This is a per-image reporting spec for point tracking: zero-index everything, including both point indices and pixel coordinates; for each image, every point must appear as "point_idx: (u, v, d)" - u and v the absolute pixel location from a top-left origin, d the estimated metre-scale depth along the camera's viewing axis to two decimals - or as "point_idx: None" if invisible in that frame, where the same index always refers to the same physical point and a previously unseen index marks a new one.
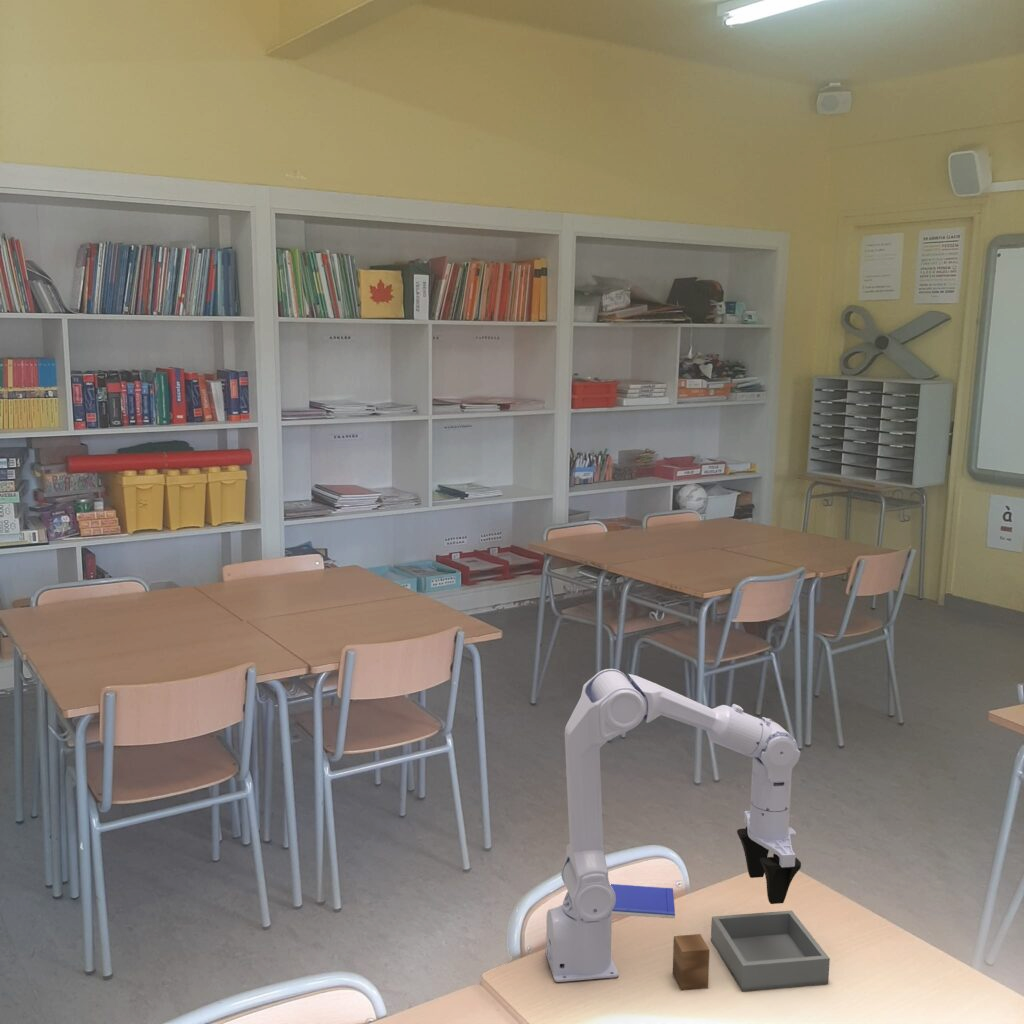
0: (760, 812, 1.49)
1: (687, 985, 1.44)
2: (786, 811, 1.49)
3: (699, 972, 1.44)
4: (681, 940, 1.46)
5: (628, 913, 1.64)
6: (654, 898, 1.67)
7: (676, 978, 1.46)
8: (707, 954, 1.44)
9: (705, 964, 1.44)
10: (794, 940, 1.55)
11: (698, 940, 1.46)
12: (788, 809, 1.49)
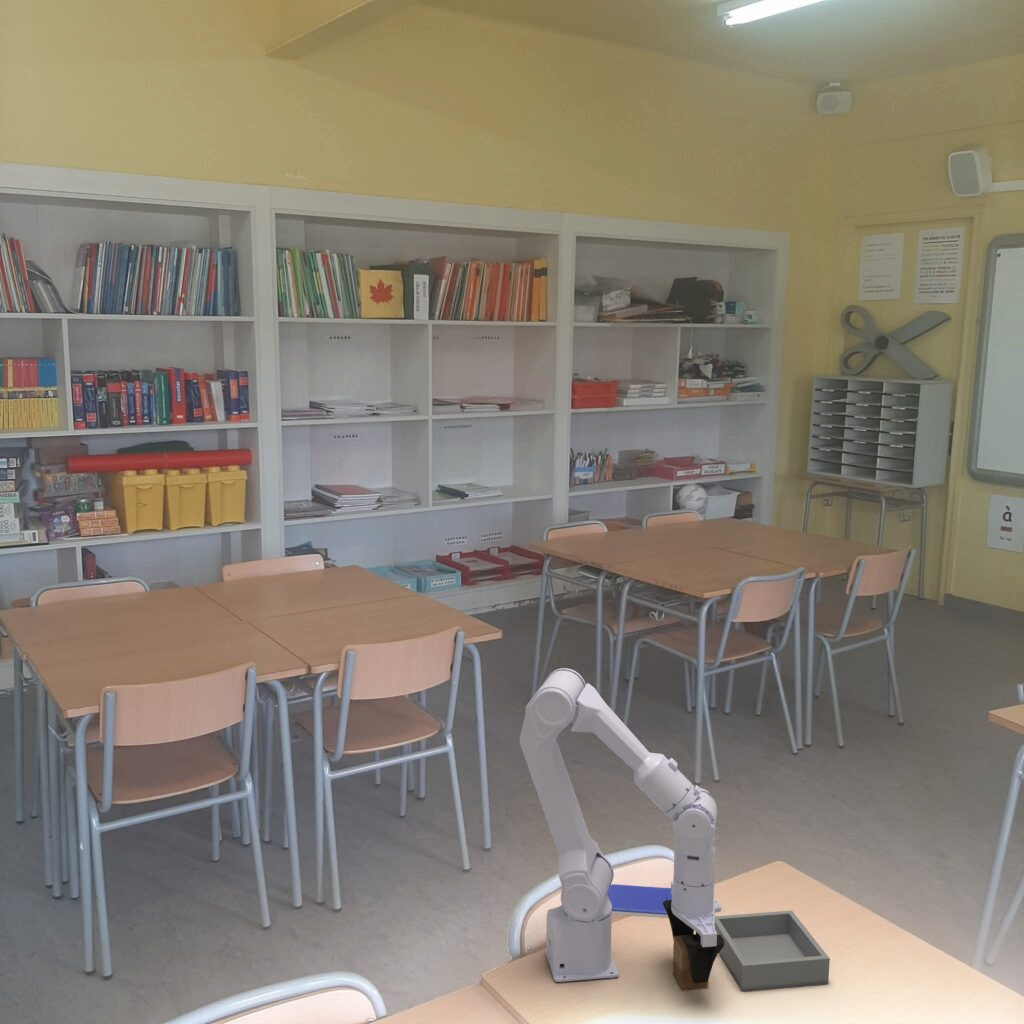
0: (682, 887, 1.42)
1: (687, 985, 1.44)
2: (709, 886, 1.42)
3: None
4: (681, 940, 1.46)
5: (628, 913, 1.64)
6: (654, 898, 1.67)
7: (676, 978, 1.46)
8: None
9: None
10: (794, 940, 1.55)
11: None
12: (712, 883, 1.43)
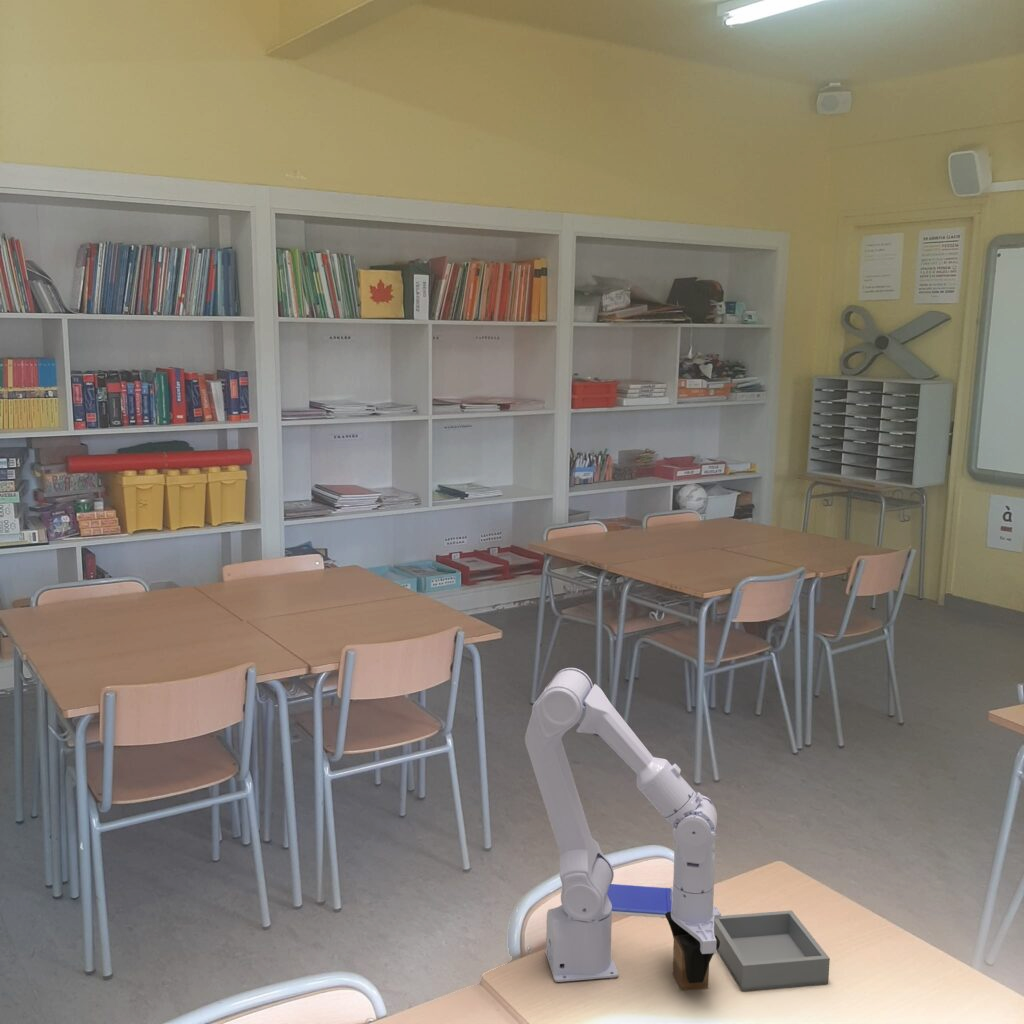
0: (682, 894, 1.42)
1: (687, 985, 1.44)
2: (709, 892, 1.42)
3: None
4: None
5: (628, 913, 1.64)
6: (654, 898, 1.67)
7: (676, 978, 1.46)
8: None
9: None
10: (794, 940, 1.55)
11: None
12: (711, 890, 1.43)
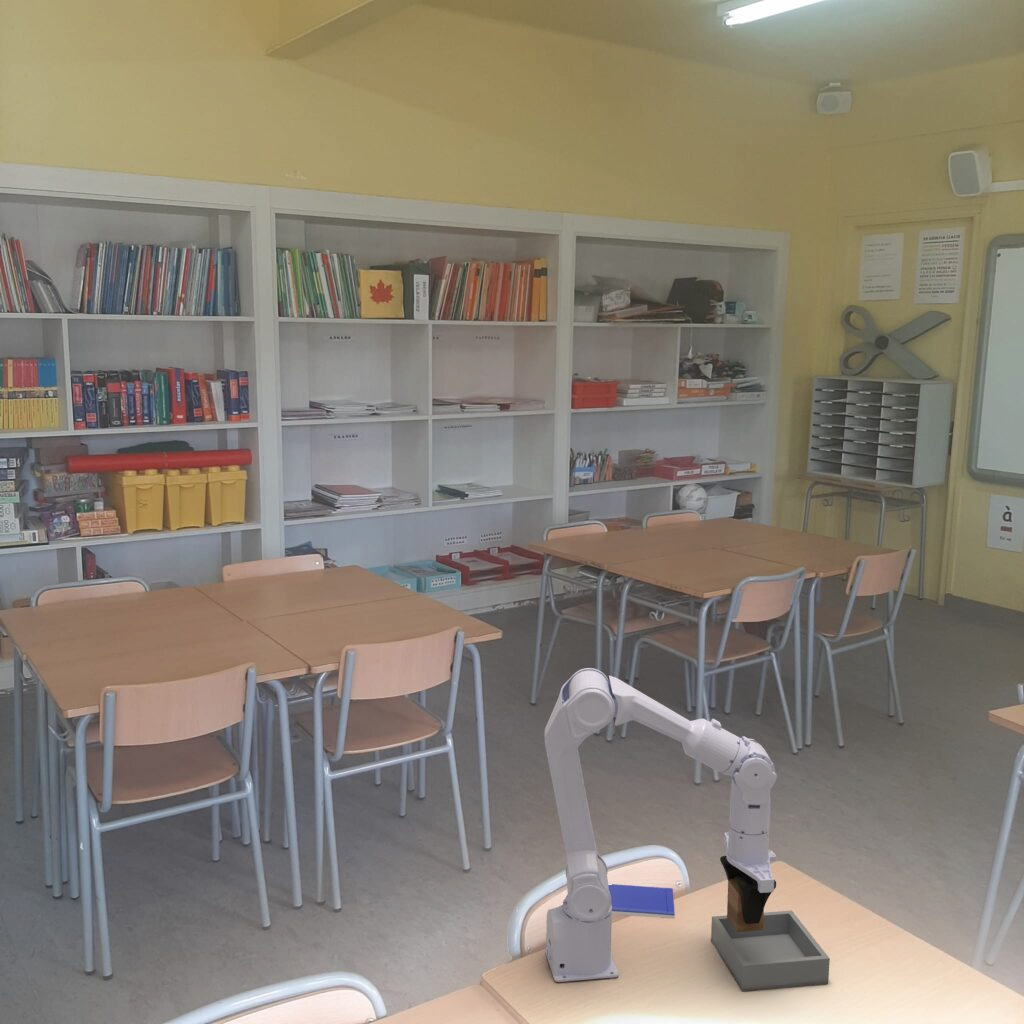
0: (738, 835, 1.45)
1: (743, 927, 1.47)
2: (765, 834, 1.45)
3: None
4: None
5: (628, 913, 1.64)
6: (654, 898, 1.67)
7: (731, 920, 1.49)
8: None
9: None
10: (794, 940, 1.55)
11: None
12: (767, 832, 1.45)
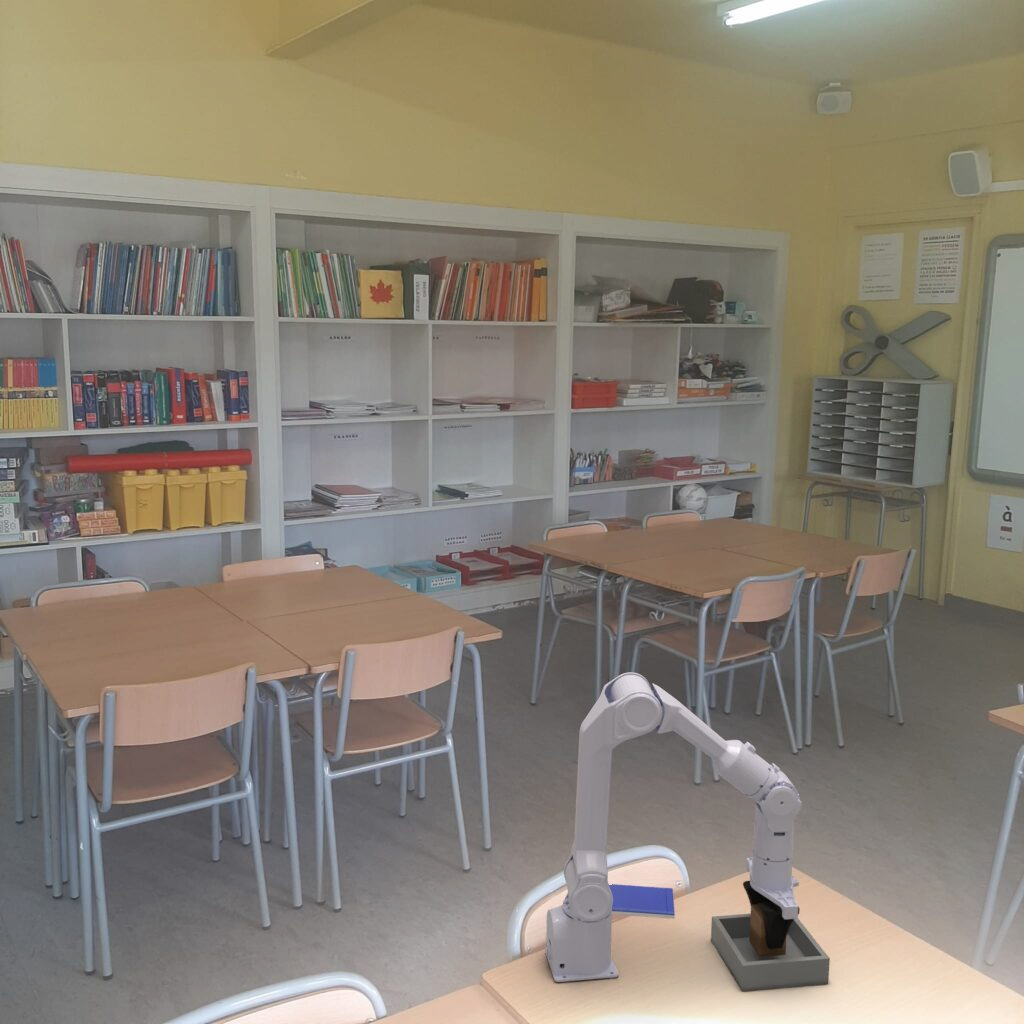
0: (762, 862, 1.47)
1: (766, 951, 1.49)
2: (789, 861, 1.47)
3: None
4: (759, 909, 1.51)
5: (628, 913, 1.64)
6: (654, 898, 1.67)
7: (754, 945, 1.51)
8: None
9: None
10: (794, 940, 1.55)
11: None
12: (791, 859, 1.47)
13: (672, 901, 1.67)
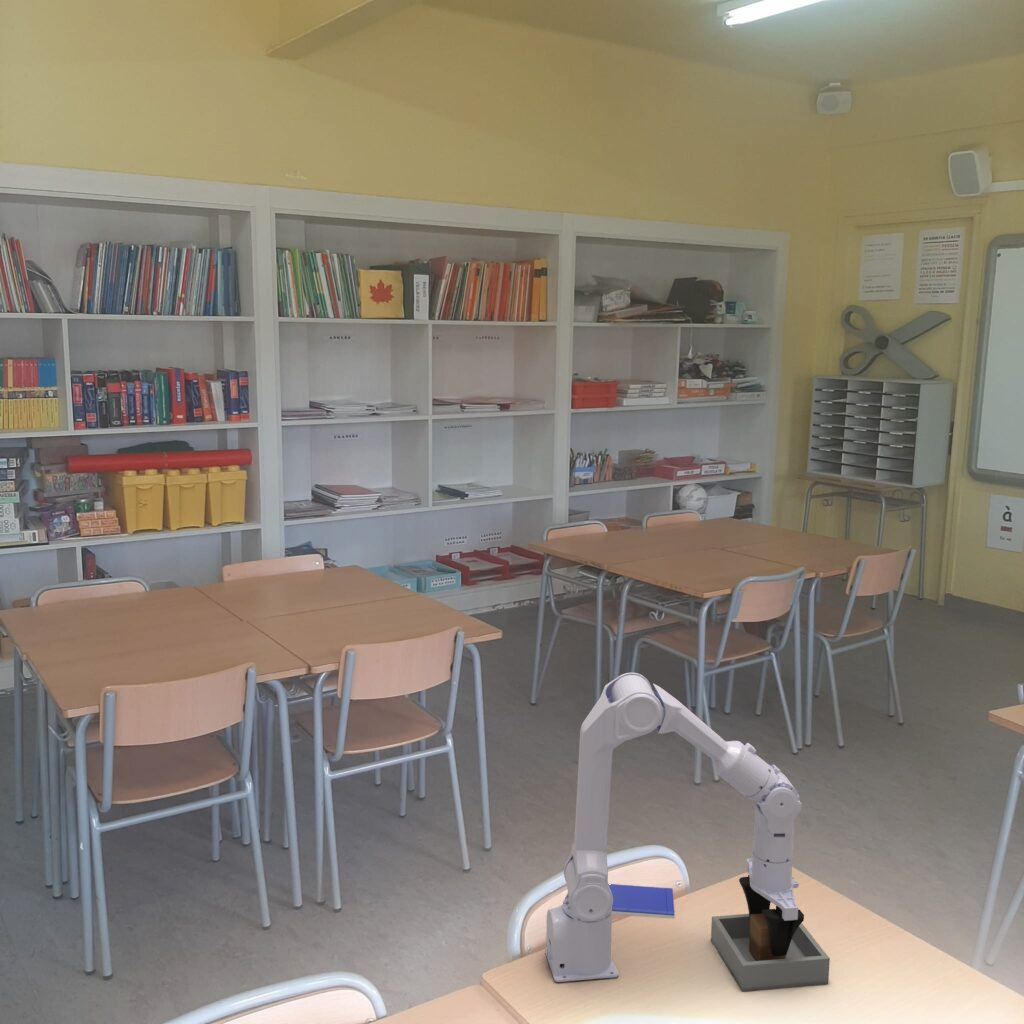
0: (762, 863, 1.47)
1: None
2: (789, 862, 1.47)
3: None
4: (759, 918, 1.51)
5: (627, 913, 1.64)
6: (654, 898, 1.67)
7: (753, 955, 1.51)
8: None
9: None
10: (794, 940, 1.55)
11: None
12: (791, 860, 1.47)
13: (672, 901, 1.67)
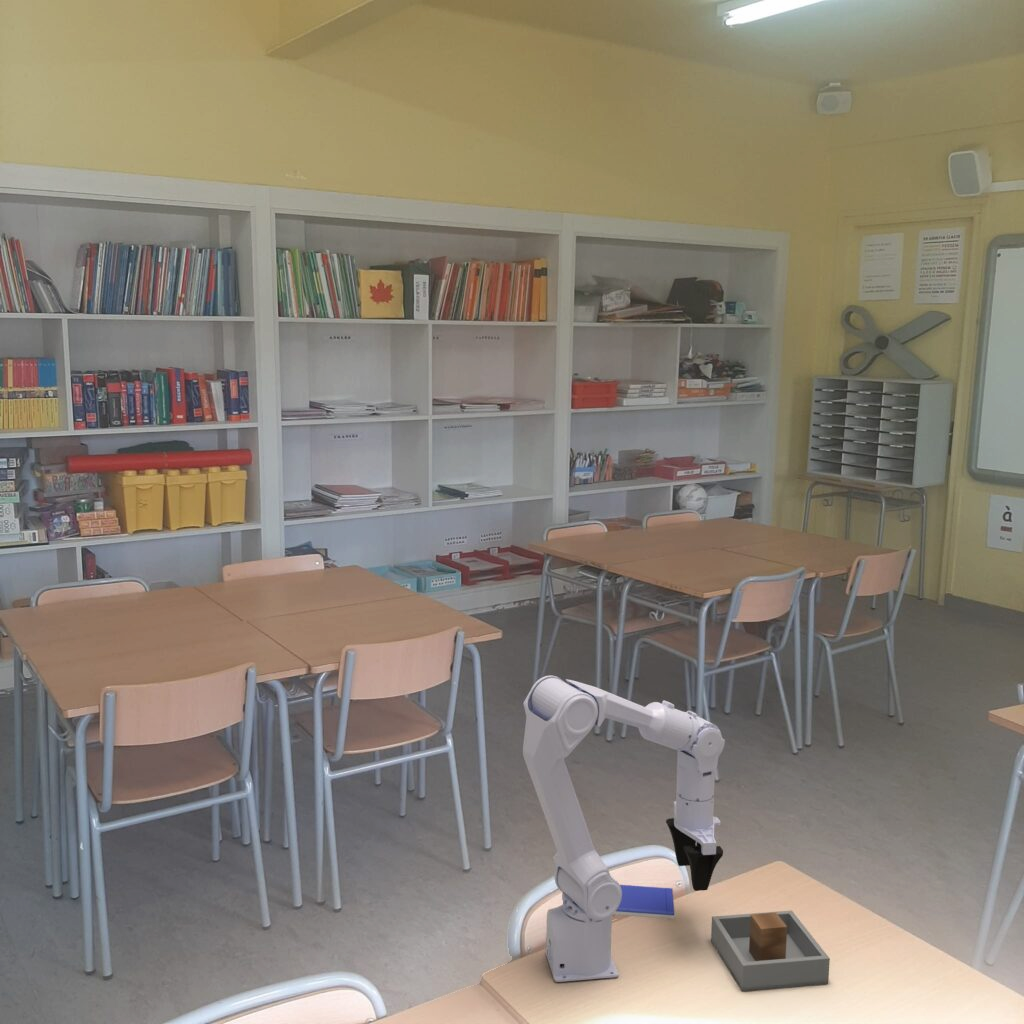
0: (684, 802, 1.54)
1: None
2: (709, 801, 1.54)
3: (777, 948, 1.49)
4: (759, 918, 1.51)
5: (627, 913, 1.64)
6: (653, 898, 1.67)
7: (753, 955, 1.51)
8: (785, 931, 1.49)
9: (783, 941, 1.49)
10: (794, 940, 1.55)
11: (775, 918, 1.51)
12: (712, 799, 1.54)
13: (672, 901, 1.67)
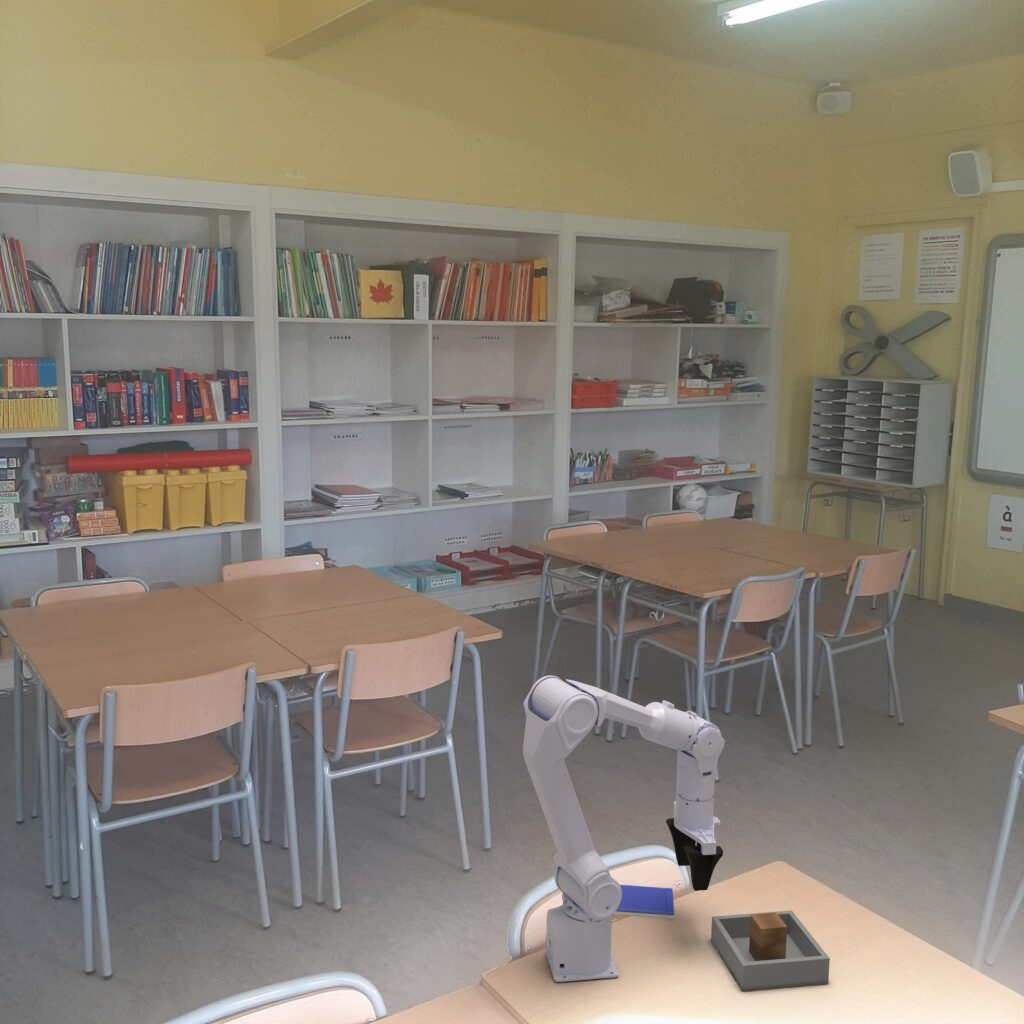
0: (684, 802, 1.54)
1: None
2: (709, 801, 1.54)
3: (777, 948, 1.49)
4: (759, 918, 1.51)
5: (627, 913, 1.64)
6: (653, 898, 1.67)
7: (753, 955, 1.51)
8: (785, 931, 1.49)
9: (783, 941, 1.49)
10: (794, 940, 1.55)
11: (775, 918, 1.51)
12: (712, 799, 1.54)
13: (672, 901, 1.67)
